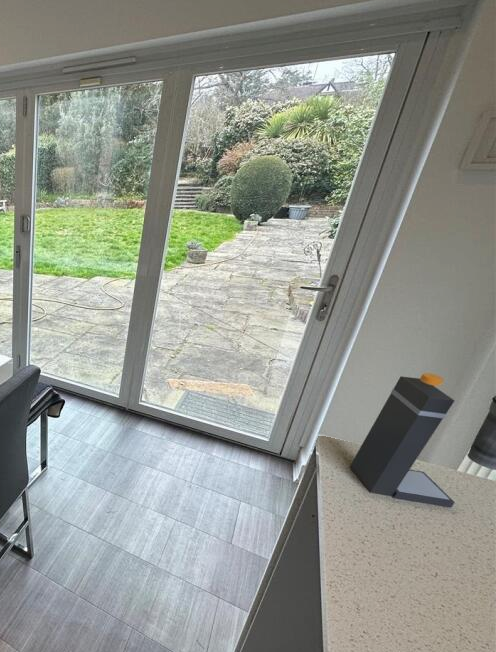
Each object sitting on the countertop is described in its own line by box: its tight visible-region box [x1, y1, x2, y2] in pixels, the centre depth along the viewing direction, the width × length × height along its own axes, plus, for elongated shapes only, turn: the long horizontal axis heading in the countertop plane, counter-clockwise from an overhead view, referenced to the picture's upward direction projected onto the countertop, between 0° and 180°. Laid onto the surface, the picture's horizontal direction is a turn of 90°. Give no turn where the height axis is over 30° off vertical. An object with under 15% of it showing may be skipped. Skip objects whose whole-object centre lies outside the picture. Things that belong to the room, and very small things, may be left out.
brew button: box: [419, 372, 444, 387], centre depth 77 cm, size 3×3×1 cm
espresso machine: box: [349, 376, 455, 508], centre depth 83 cm, size 14×9×24 cm, turn 77°
